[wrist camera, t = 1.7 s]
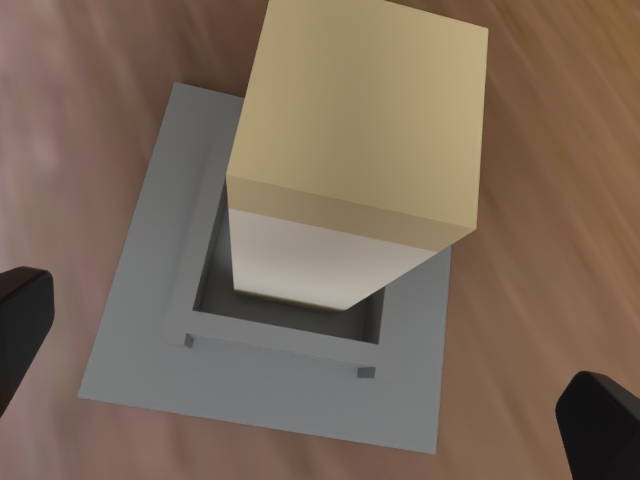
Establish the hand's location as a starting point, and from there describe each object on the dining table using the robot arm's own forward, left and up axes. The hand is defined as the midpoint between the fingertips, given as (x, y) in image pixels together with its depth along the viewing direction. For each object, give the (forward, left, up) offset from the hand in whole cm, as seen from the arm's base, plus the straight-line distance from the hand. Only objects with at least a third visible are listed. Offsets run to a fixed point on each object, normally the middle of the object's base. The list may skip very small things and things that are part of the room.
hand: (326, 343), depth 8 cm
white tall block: (+4, -2, -11) cm, 12 cm away
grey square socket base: (+4, -2, -12) cm, 13 cm away
